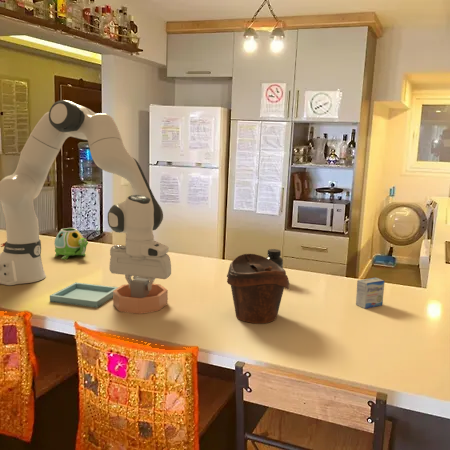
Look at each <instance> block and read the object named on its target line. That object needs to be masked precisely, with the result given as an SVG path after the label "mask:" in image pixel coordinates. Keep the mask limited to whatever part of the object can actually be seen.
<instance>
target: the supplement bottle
mask: <svg viewBox="0 0 450 450" xmlns="http://www.w3.org/2000/svg"><path fill="white" fill-rule="evenodd" d="M281 252H282V251H281V250H280V249H277V248H271V249H270V248H269V249H267V256H266V257H265V258H267V259H269V260H271V261H273V262H275V263H277V264H278V265H279V266H280V267H282V268H283V269H284V260H283V258H282V257H281V255H282V253H281Z"/></svg>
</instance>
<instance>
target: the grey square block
mask: <svg viewBox="0 0 450 450" xmlns="http://www.w3.org/2000/svg"><path fill="white" fill-rule="evenodd" d="M149 282H150V281H149V280H148V279H145V278H133V279H132V281H131V297H138V298H144V297H146V296H147V295H148V294H149V291H148V290H145V285H147V284H149Z"/></svg>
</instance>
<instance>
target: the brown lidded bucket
mask: <svg viewBox="0 0 450 450" xmlns="http://www.w3.org/2000/svg"><path fill="white" fill-rule="evenodd" d="M226 278H227V280H226V282H227V284H228V285H229V286H230V289H231V294H232V300H233V306H234V311H235V318H236V319H238V320H240V321H242V322H246V323H251V324H256V325H257V324H258V325H261V324H268V323H272V322H273V321H275V320H276V319H277V317H278V313H279V310H280V307H281V302H282V297H283V293H284V290H285V289H287V290H288V291H289V292H290V280H289V277H288V275H287V273H286V270H285V269H284V267H283V268H282V267H280V266H279V265H278V264H277V263H275V262H273V261H271V260H269V259H267V258H266V257H264V256H262V255H259V254H255V253H243V254H240V255H238V256H237V257H235V258H234V259H232V261H231V262H230V264H229V267H228V271H227V274H226Z"/></svg>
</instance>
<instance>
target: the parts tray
mask: <svg viewBox="0 0 450 450" xmlns="http://www.w3.org/2000/svg"><path fill="white" fill-rule="evenodd" d="M118 287H119V286H109V285H101V284H91V283H85V282H83V283H82V282H73V283H72V284H70V285H67V286H66V287H64V288H61V289H60V290H58V291H56V292H54V293H52V294H50V295H49V302H50V303H57V304H59V303H60V304H66V305H74V306H82V307H89V308H99V307H100V306H102V305H104V304H105V303H106V302H108V301H110V300H111V299H113V291H114V290H115V289H117V288H118Z"/></svg>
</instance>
